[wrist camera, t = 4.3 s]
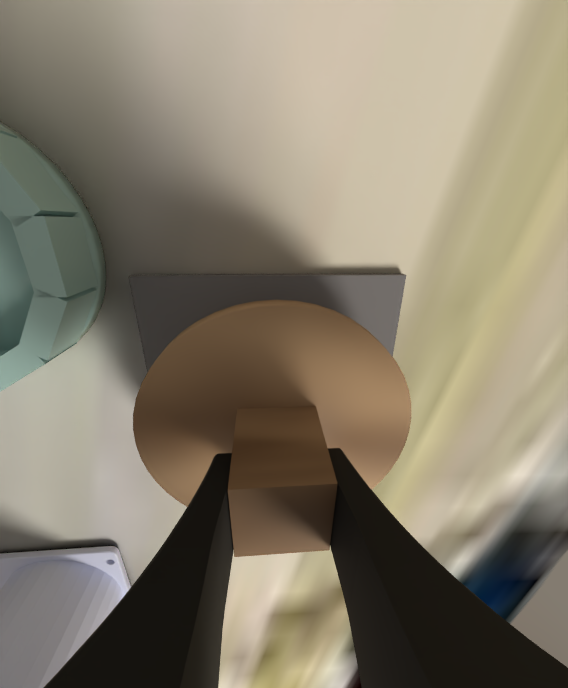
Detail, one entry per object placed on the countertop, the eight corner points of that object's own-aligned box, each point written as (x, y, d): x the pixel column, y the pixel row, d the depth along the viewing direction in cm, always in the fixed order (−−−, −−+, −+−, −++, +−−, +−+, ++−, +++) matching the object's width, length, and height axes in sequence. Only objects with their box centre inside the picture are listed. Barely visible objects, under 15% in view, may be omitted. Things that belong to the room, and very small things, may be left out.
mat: (370, 470, 18) (372, 475, 18) (171, 481, 17) (170, 486, 17) (402, 273, 13) (406, 274, 13) (132, 274, 13) (128, 276, 12)
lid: (381, 503, 15) (423, 606, 11) (164, 517, 14) (129, 631, 10) (427, 298, 11) (525, 350, 7) (111, 301, 10) (12, 362, 6)
